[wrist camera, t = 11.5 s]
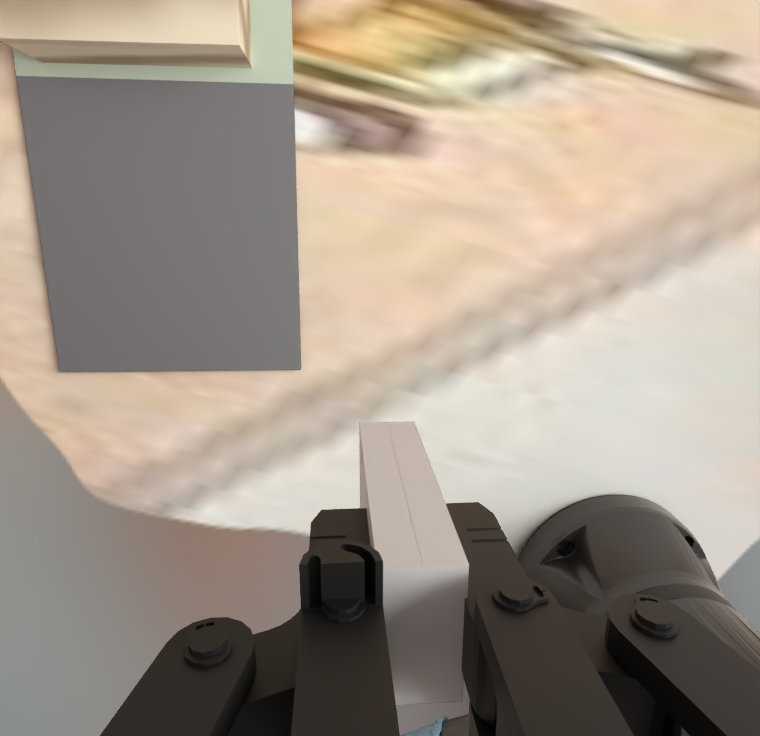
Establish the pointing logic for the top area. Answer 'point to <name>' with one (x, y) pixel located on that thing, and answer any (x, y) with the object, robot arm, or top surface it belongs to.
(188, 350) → the mat
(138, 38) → the t block
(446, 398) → the top surface
